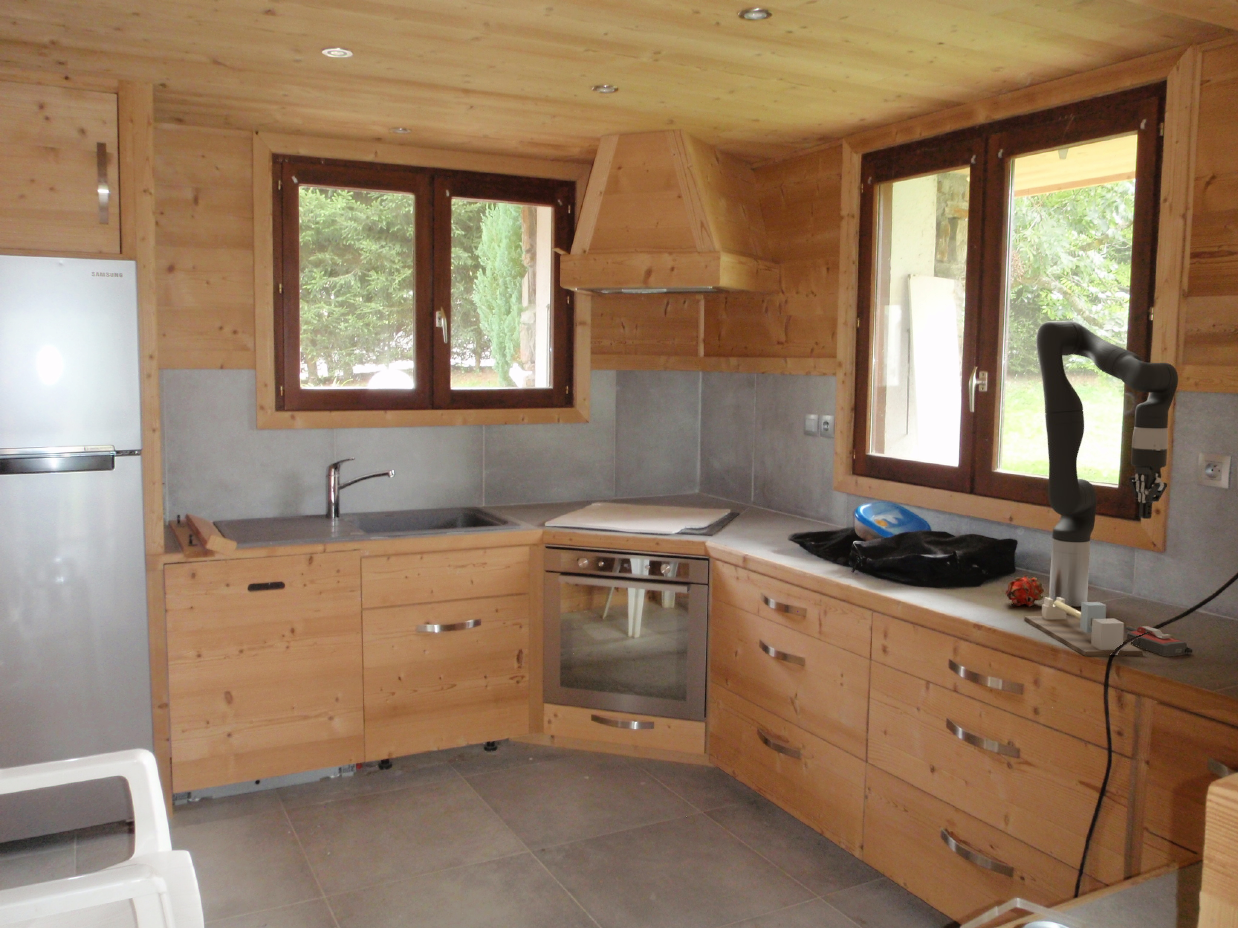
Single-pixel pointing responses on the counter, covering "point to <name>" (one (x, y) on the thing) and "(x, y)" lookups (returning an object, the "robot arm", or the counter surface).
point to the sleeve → (1091, 614)
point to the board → (1075, 635)
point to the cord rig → (1103, 630)
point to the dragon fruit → (1024, 591)
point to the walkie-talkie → (1157, 641)
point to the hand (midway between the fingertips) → (1145, 518)
